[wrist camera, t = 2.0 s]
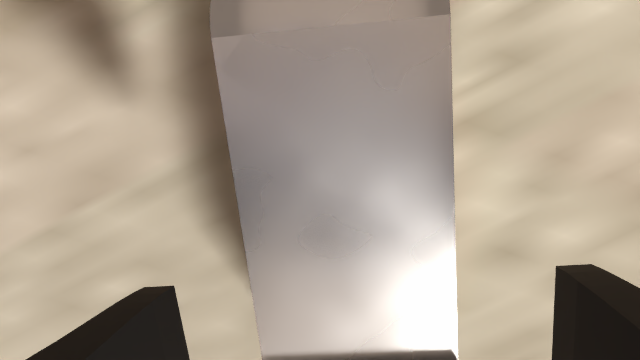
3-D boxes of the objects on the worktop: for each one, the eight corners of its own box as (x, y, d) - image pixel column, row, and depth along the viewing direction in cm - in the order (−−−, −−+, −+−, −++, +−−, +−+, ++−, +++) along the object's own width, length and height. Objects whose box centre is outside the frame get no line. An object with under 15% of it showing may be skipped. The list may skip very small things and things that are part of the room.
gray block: (314, 378, 17) (290, 585, 11) (261, -58, 13) (177, -96, 7) (430, 373, 17) (468, 585, 11) (411, -75, 13) (455, -131, 7)
